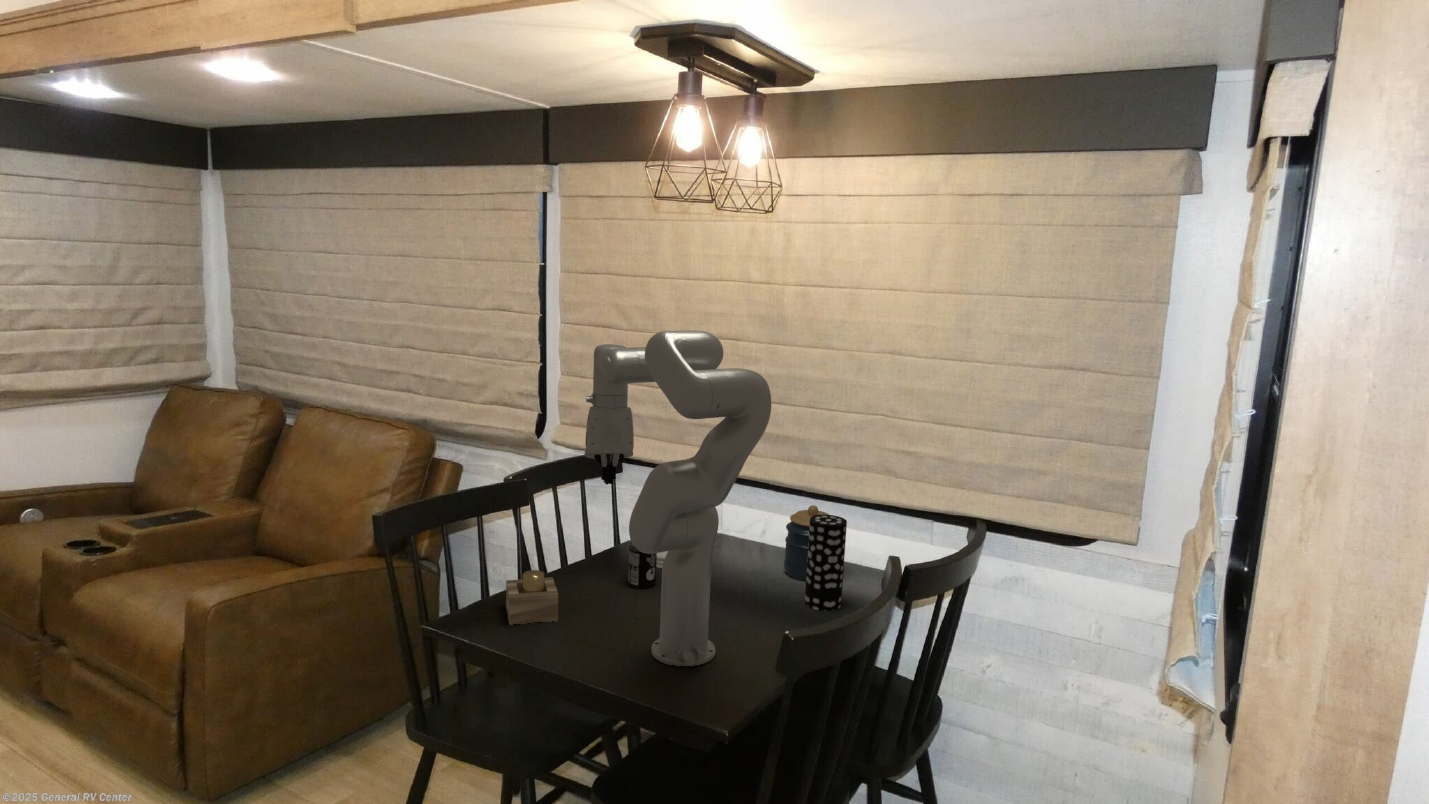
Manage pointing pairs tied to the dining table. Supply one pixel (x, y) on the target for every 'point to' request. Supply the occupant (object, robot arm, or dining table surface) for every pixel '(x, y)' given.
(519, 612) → the frame
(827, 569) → the white-spotted black cylinder
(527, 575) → the banded brass cylinder
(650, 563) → the beverage can
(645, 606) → the dining table surface
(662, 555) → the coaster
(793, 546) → the canister
